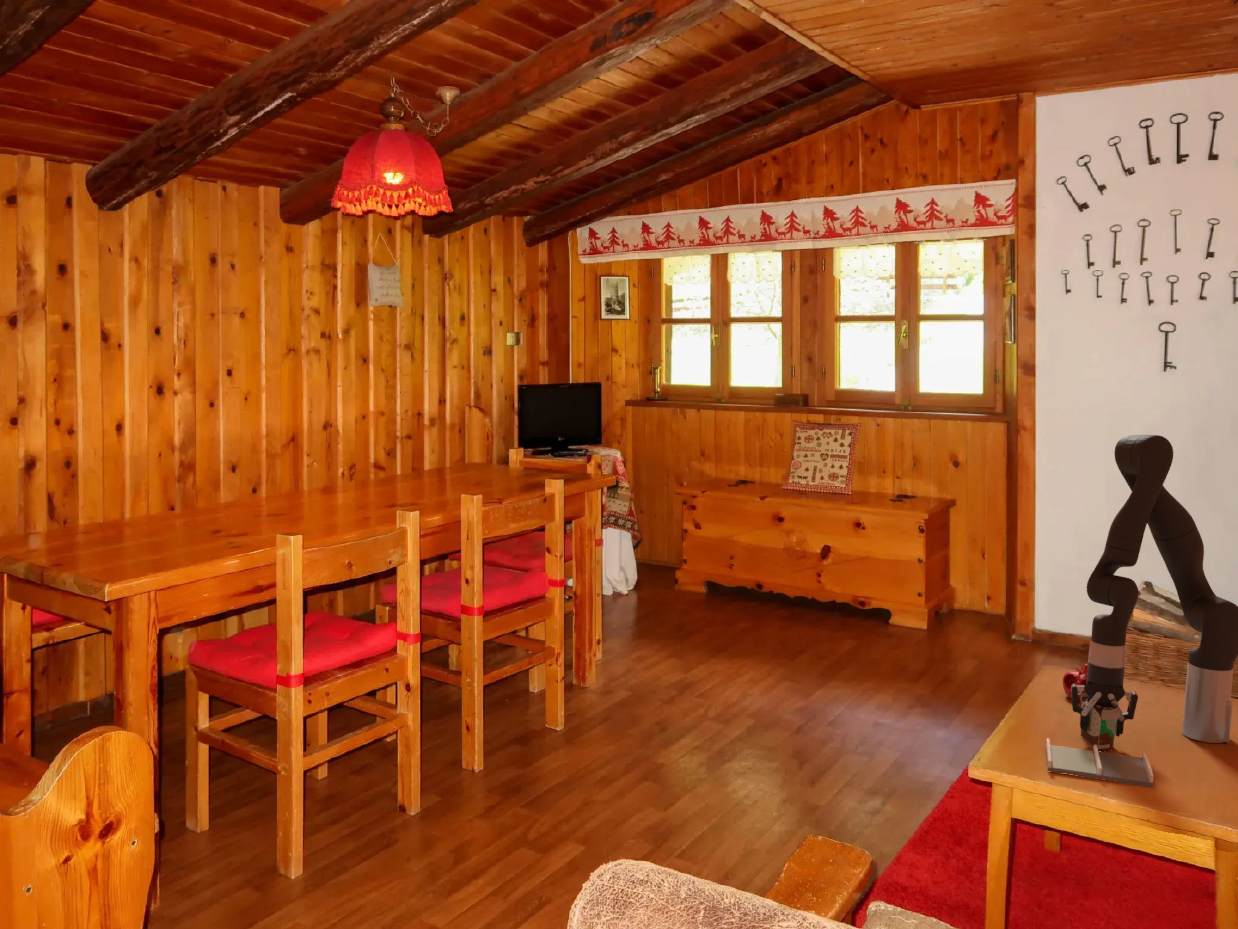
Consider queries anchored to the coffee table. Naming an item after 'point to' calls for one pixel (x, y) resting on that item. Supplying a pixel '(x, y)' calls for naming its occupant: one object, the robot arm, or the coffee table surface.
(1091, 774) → the sorting board
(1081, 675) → the pomegranate
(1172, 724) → the coffee table surface
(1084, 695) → the food container
